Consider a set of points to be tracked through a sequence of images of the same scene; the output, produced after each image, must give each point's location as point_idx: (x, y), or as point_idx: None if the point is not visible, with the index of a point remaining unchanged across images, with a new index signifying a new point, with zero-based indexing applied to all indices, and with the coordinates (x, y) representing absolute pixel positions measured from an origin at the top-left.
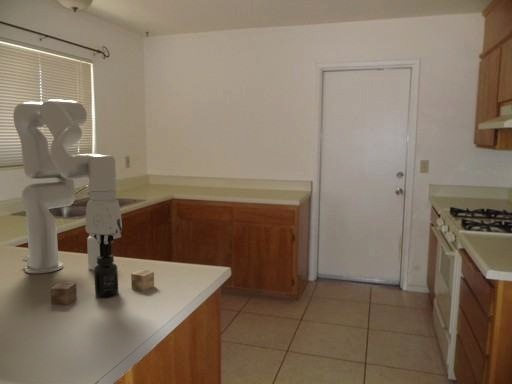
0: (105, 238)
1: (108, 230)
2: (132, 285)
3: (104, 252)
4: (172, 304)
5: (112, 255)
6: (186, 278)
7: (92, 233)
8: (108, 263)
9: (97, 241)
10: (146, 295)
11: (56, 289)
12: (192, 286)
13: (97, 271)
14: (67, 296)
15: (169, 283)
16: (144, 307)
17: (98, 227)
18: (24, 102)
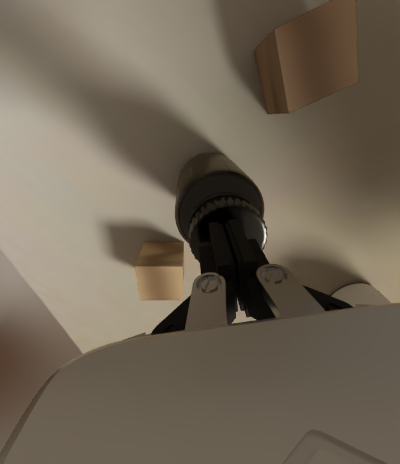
0: (211, 312)
1: (78, 419)
2: (180, 246)
3: (211, 236)
4: (5, 209)
5: None
6: (125, 326)
7: (374, 306)
8: (190, 215)
9: (289, 274)
10: (112, 224)
11: (323, 5)
12: (75, 303)
13: (221, 170)
14: (264, 40)
15: (132, 296)
16: (40, 158)
17: (315, 452)
18: None
